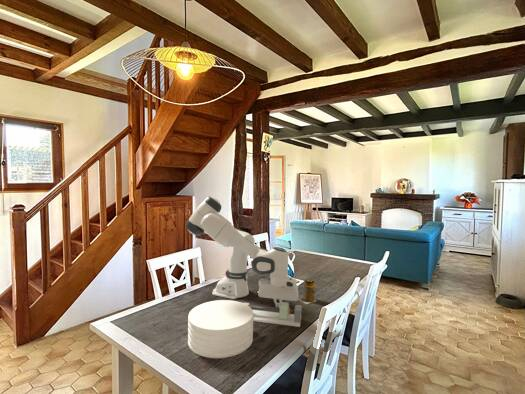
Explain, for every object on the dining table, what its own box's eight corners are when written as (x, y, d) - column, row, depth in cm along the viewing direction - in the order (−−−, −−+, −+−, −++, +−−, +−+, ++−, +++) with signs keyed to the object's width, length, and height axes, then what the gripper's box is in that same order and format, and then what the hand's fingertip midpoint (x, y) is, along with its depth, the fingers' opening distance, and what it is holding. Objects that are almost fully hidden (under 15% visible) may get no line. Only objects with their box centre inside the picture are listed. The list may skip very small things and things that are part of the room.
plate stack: (217, 368, 104) (217, 338, 104) (174, 339, 123) (175, 314, 122) (265, 337, 126) (266, 312, 125) (223, 317, 144) (223, 295, 143)
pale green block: (279, 318, 140) (279, 305, 140) (280, 314, 144) (280, 302, 144) (287, 319, 139) (287, 306, 139) (288, 315, 144) (288, 302, 143)
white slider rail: (239, 319, 141) (239, 305, 141) (245, 310, 151) (245, 297, 151) (299, 326, 135) (300, 312, 135) (301, 317, 145) (301, 303, 145)
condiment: (317, 301, 165) (317, 281, 165) (306, 304, 161) (307, 283, 160) (308, 296, 171) (309, 277, 171) (298, 299, 167) (298, 279, 166)
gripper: (257, 280, 140) (256, 307, 141) (298, 284, 136) (297, 312, 137) (259, 276, 147) (259, 302, 147) (299, 279, 142) (298, 306, 143)
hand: (278, 307), depth 142 cm, fingers closed
